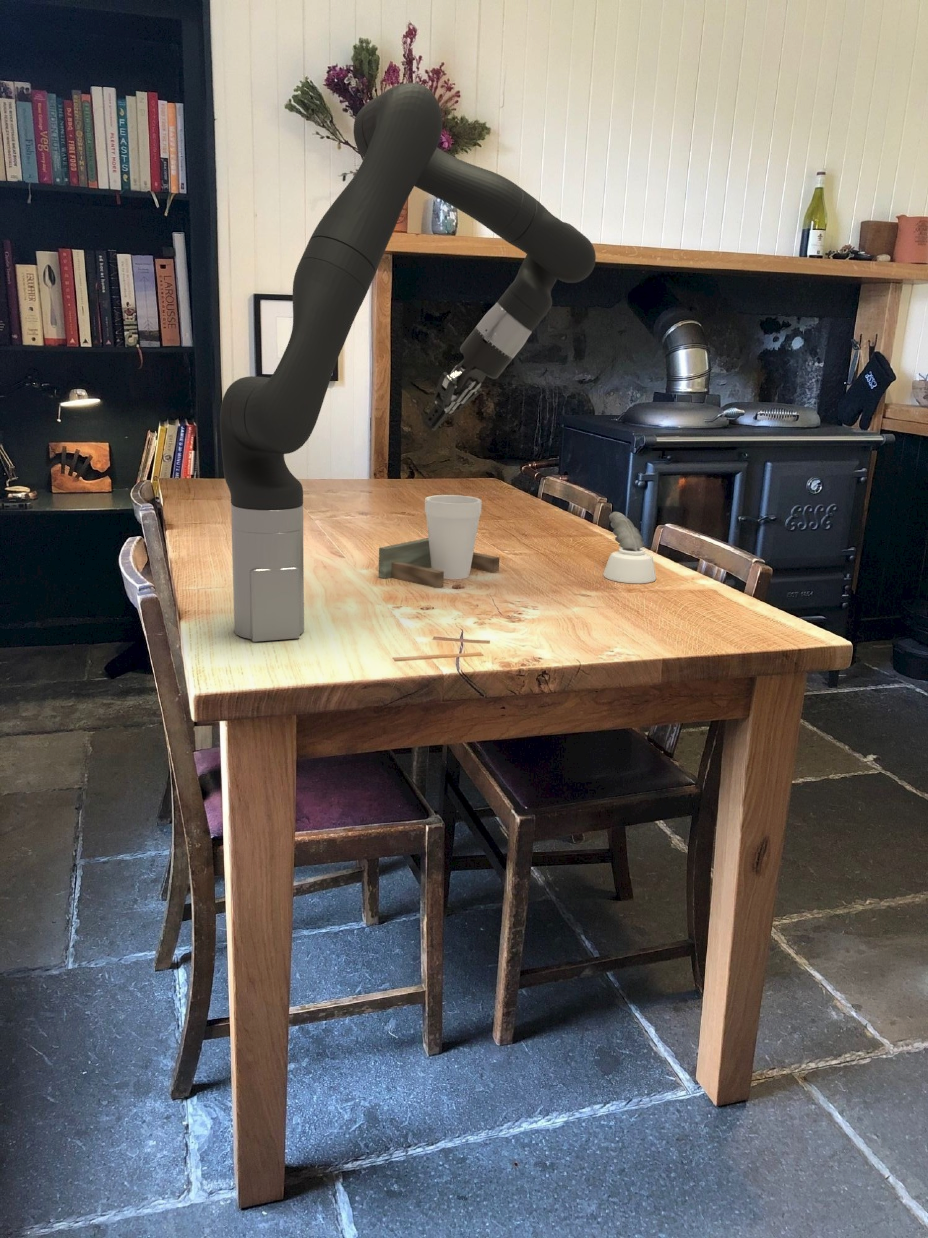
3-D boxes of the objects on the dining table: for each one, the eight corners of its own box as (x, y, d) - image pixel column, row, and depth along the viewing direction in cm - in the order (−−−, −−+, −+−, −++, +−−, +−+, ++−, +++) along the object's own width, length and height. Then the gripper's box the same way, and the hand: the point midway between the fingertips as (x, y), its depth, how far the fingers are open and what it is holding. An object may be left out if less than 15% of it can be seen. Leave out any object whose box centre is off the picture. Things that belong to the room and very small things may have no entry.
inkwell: (614, 584, 166) (619, 526, 163) (578, 561, 182) (582, 507, 180) (665, 583, 168) (670, 526, 165) (625, 560, 184) (629, 507, 182)
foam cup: (447, 566, 174) (449, 493, 170) (488, 575, 168) (492, 500, 165) (412, 574, 167) (414, 498, 163) (454, 584, 161) (457, 506, 158)
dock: (503, 570, 173) (505, 542, 171) (431, 589, 157) (432, 559, 156) (452, 559, 179) (453, 532, 178) (378, 577, 164) (379, 547, 163)
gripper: (493, 331, 159) (428, 414, 165) (463, 317, 147) (394, 408, 153) (526, 361, 158) (459, 444, 164) (498, 350, 146) (427, 439, 151)
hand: (428, 426), depth 158 cm, fingers closed
